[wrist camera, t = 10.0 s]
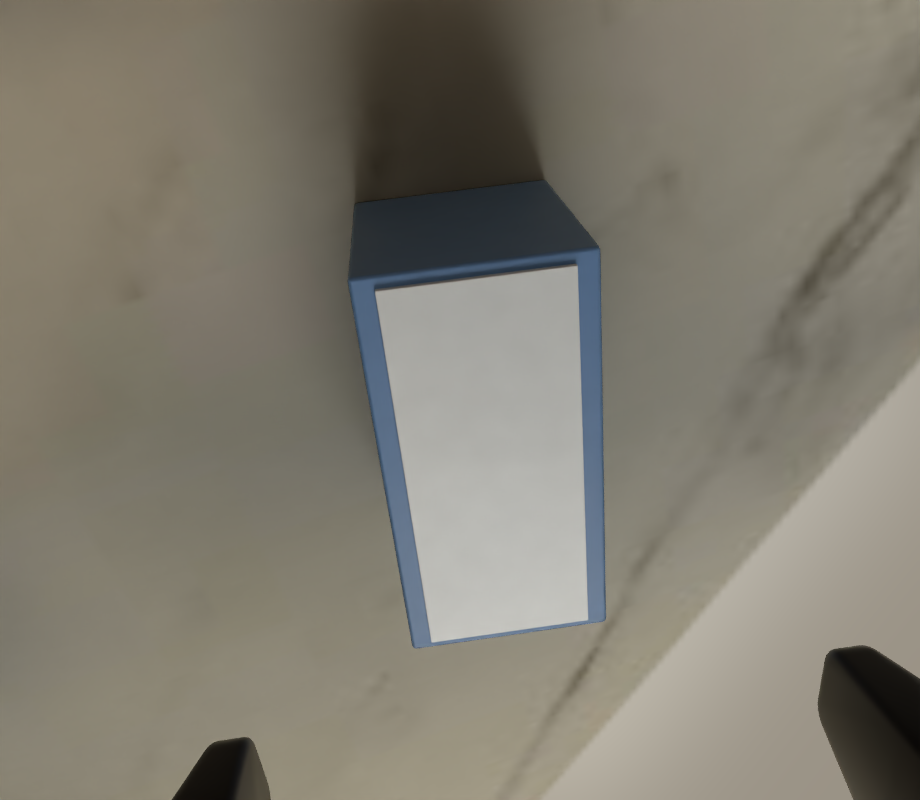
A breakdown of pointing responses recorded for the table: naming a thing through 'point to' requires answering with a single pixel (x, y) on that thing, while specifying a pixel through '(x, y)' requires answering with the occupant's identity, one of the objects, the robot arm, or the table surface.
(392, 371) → the foil box
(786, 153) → the table surface
